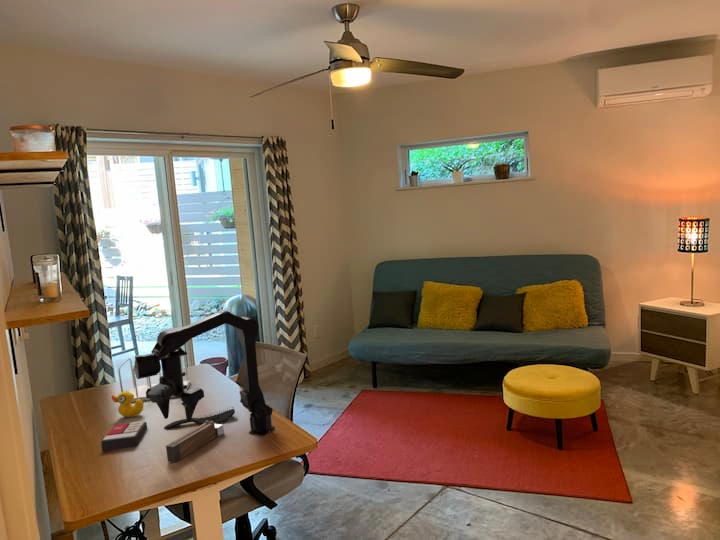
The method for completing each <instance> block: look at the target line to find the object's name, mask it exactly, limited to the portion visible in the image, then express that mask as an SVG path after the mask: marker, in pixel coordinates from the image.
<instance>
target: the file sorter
mask: <svg viewBox="0 0 720 540" xmlns="http://www.w3.org/2000/svg"><path fill="white" fill-rule="evenodd" d="M180 357H181V358H182V357H183V359H184V367H185V368H184V369H185V376H186V380H183V384H184V385H187V388H186V389H184V391H187V390H189V387H190V386H191V384H192V383H191V379H189V374H188V368H187V359H186V358H187V357H186V355H183V356H180ZM128 361H129V363H130V370H131V377H132V384H133V386H132V387H131V388H130V389H129V390H127V391H128V392H130V393H132V394H133V395H134V398H133V400H132V402H131V403H135V401H136V400H137V399H141V400H142V401H143V402H146V401H150V399H149V398H146V391H147V389H148V388H151V387H153V386H155V385H157V384H158V383H153V384H152V382H151V376H150V377H146V378H145V379H146V384H144V385H137V378H136V375H135V370H134V366H135V363H134V364H133V363H132V359H131V358H130V357H128V358H126V359H125V360H124V361H123V362H121V363H120V364H119V366H118V369H117V371H118V379H119V386H120V393H121V392H123V391H124V390H123V383H122V376H121V367H122V366H124V365H125V364H126V363H127V362H128ZM158 375H159V378H160V377H161V376H162V372H160V373H158ZM178 394H179V393H178ZM171 398H176V397H175V396H171V397H170V399H171ZM145 400H146V401H145Z"/></svg>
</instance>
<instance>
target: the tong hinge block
mask: <svg viewBox="0 0 720 540" xmlns="http://www.w3.org/2000/svg"><path fill="white" fill-rule="evenodd" d="M214 425H215V434H216V437H215V438H220V437H221V436H222V435H224V433H225V432H224V431H225V430H224V424H223V423H221V424H215V423H214Z"/></svg>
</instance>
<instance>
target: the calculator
mask: <svg viewBox="0 0 720 540" xmlns="http://www.w3.org/2000/svg"><path fill="white" fill-rule="evenodd" d="M147 423H148V422H147V421H145V420H142V421H135V422H134V421H133V422H130V423H129V422H126V423H119V424H114V426H112V428H111V429H110V430H109V431H108V432H107V434H106V435H105V436H104V437H103V439H102V440H101V441H100V443H101V451H102V452H108V451H115V450H116V451H117V450H123V449H131V448H136V447H138V446H139V444H140V442H141V439H142V438H143V437H144V436H145V434H146V432H147V430H148V424H147ZM144 433H145V434H144Z"/></svg>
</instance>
